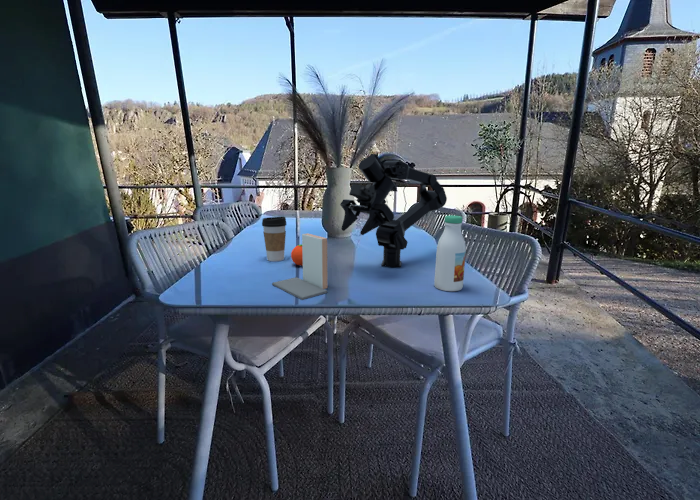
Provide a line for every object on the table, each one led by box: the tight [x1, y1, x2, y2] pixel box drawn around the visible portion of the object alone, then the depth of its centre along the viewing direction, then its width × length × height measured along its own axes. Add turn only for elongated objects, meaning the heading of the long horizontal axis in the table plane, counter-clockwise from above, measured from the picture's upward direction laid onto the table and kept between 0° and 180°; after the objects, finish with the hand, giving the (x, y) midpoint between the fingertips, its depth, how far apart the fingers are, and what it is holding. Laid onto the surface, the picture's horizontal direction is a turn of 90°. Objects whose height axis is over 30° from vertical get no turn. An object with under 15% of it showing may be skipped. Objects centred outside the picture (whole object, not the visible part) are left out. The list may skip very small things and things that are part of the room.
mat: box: [271, 277, 328, 301], centre depth 99 cm, size 8×15×1 cm, turn 41°
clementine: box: [290, 244, 303, 267], centre depth 121 cm, size 8×7×7 cm
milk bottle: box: [433, 215, 467, 292], centre depth 99 cm, size 8×8×20 cm
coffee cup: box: [261, 216, 287, 262], centre depth 127 cm, size 8×8×15 cm
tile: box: [301, 232, 328, 290], centre depth 101 cm, size 2×9×14 cm, turn 41°
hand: (351, 232), depth 108 cm, fingers open, 8 cm apart
